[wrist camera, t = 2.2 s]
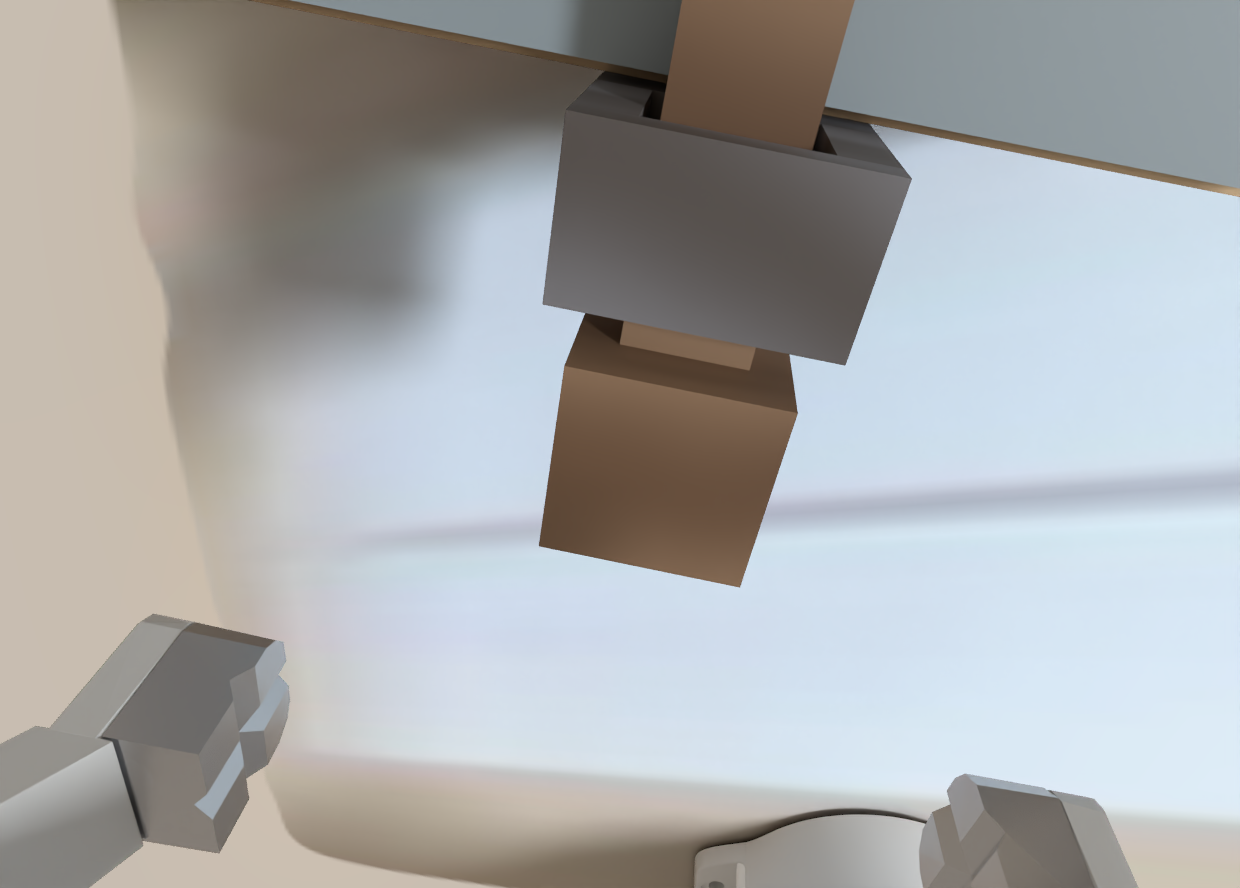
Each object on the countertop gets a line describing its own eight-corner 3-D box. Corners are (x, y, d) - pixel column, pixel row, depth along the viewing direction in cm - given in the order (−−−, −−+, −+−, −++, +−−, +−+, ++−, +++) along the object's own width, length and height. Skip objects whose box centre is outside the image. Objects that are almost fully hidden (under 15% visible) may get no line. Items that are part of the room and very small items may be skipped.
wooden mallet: (738, 473, 19) (740, 587, 16) (573, 439, 19) (539, 546, 16) (900, -72, 13) (960, -78, 10) (660, -120, 13) (636, -141, 10)
